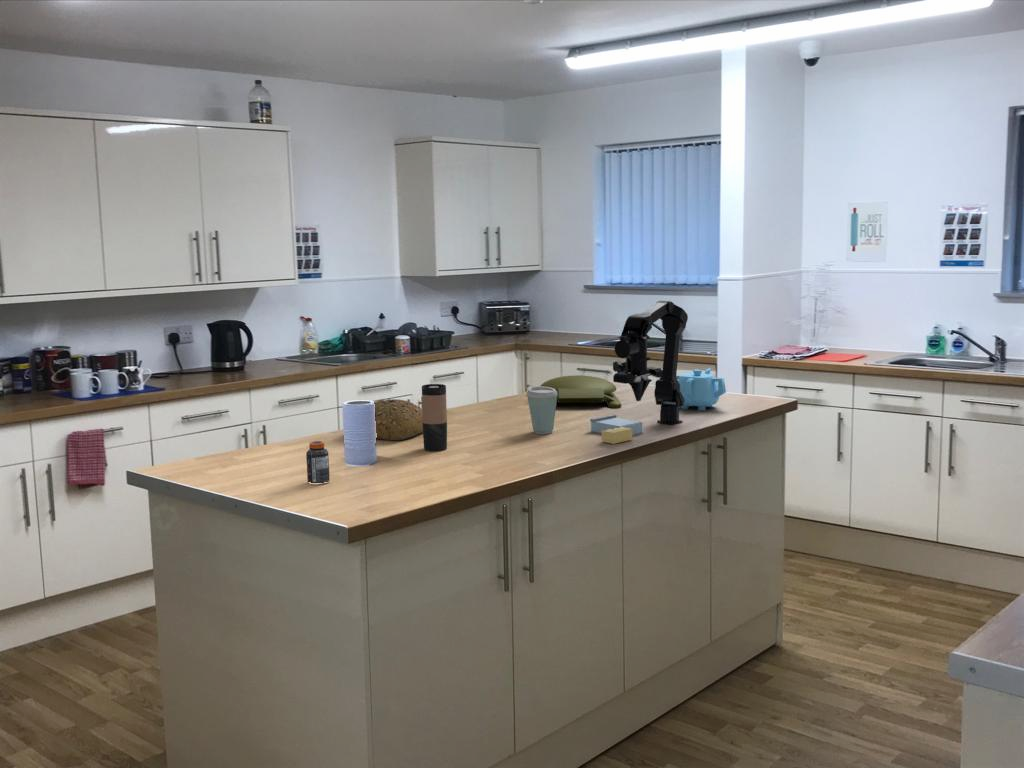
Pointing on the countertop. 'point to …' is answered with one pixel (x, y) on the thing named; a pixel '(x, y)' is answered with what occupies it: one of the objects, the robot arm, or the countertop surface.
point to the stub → (616, 435)
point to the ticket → (614, 424)
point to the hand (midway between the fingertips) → (638, 400)
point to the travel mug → (434, 417)
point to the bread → (397, 419)
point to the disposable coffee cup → (542, 408)
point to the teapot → (700, 389)
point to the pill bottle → (317, 463)
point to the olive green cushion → (584, 390)
